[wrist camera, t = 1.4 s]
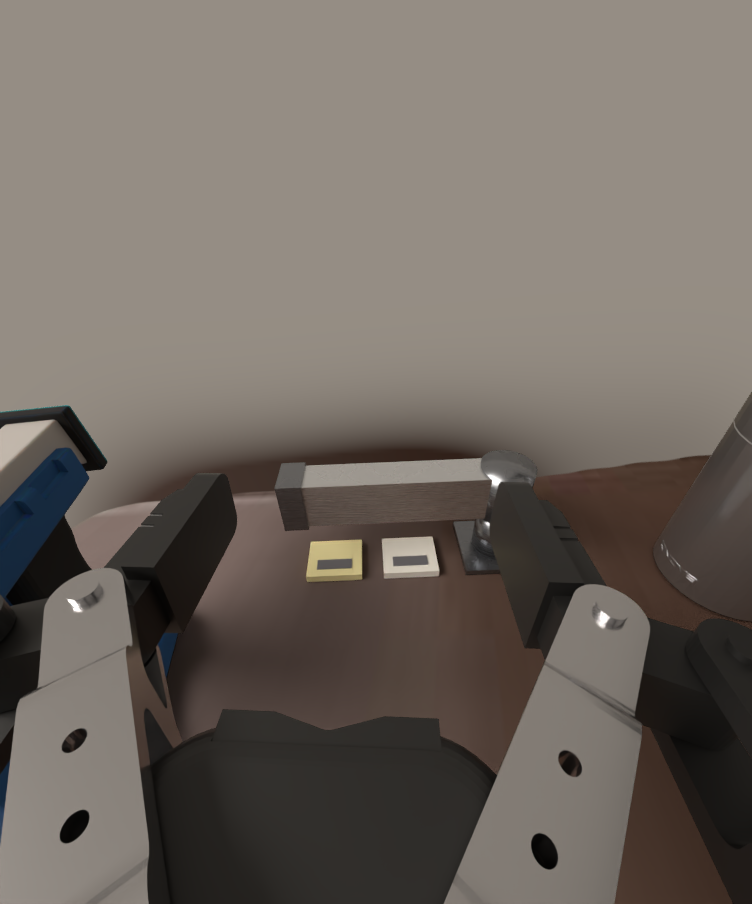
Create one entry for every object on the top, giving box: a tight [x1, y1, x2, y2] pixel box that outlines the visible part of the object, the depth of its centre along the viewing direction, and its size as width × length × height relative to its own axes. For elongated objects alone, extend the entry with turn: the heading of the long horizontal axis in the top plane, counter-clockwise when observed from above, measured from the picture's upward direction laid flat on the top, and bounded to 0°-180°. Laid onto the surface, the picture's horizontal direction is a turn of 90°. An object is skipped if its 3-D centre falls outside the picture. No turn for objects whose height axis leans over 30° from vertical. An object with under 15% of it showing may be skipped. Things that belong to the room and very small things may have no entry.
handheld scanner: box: [0, 405, 178, 843], centre depth 20 cm, size 5×16×20 cm, turn 10°
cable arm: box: [275, 450, 537, 531], centre depth 31 cm, size 21×4×5 cm, turn 92°
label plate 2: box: [382, 537, 439, 579], centre depth 35 cm, size 5×4×1 cm
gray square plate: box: [453, 519, 500, 575], centre depth 35 cm, size 6×6×5 cm
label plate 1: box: [306, 540, 362, 582], centre depth 35 cm, size 5×4×1 cm
